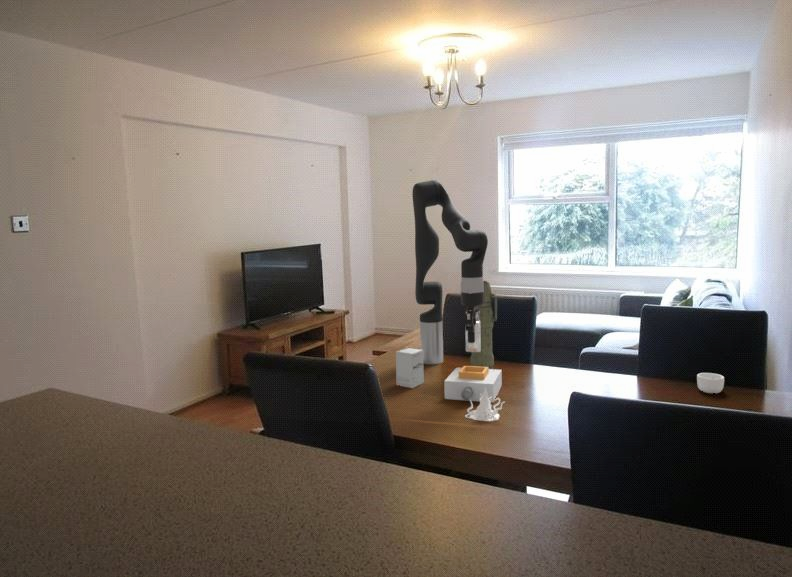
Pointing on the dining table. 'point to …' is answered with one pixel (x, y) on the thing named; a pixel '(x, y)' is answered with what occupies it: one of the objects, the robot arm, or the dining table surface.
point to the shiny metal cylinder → (477, 344)
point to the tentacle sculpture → (484, 409)
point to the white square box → (472, 383)
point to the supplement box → (409, 367)
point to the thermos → (485, 331)
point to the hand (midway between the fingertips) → (473, 340)
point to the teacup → (710, 382)
